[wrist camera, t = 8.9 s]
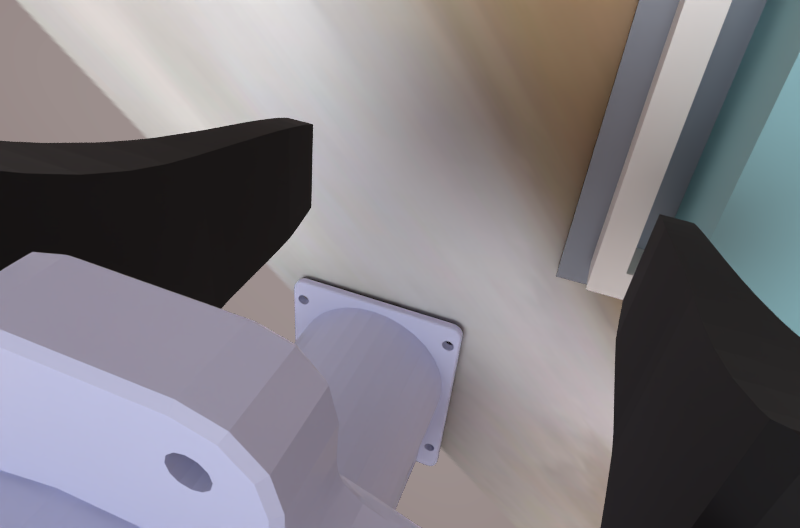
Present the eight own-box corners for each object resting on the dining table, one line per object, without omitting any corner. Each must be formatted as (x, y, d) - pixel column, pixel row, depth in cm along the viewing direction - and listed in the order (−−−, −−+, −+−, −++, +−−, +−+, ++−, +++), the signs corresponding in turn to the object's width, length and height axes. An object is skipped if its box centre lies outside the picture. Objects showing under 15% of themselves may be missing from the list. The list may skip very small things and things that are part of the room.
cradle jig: (855, 348, 20) (875, 398, 18) (558, 267, 22) (548, 303, 20) (1237, -168, 12) (1349, -176, 10) (701, -207, 14) (707, -219, 12)
